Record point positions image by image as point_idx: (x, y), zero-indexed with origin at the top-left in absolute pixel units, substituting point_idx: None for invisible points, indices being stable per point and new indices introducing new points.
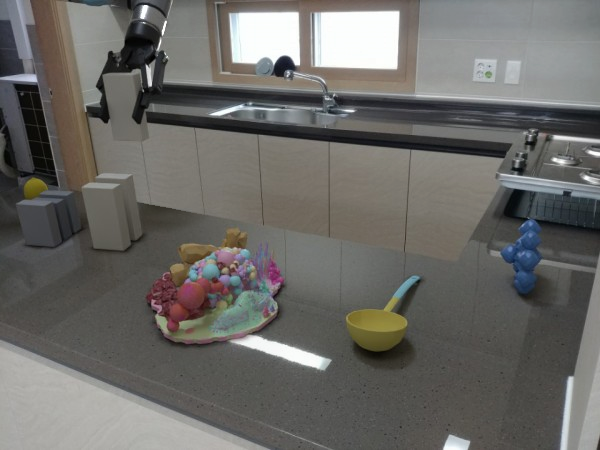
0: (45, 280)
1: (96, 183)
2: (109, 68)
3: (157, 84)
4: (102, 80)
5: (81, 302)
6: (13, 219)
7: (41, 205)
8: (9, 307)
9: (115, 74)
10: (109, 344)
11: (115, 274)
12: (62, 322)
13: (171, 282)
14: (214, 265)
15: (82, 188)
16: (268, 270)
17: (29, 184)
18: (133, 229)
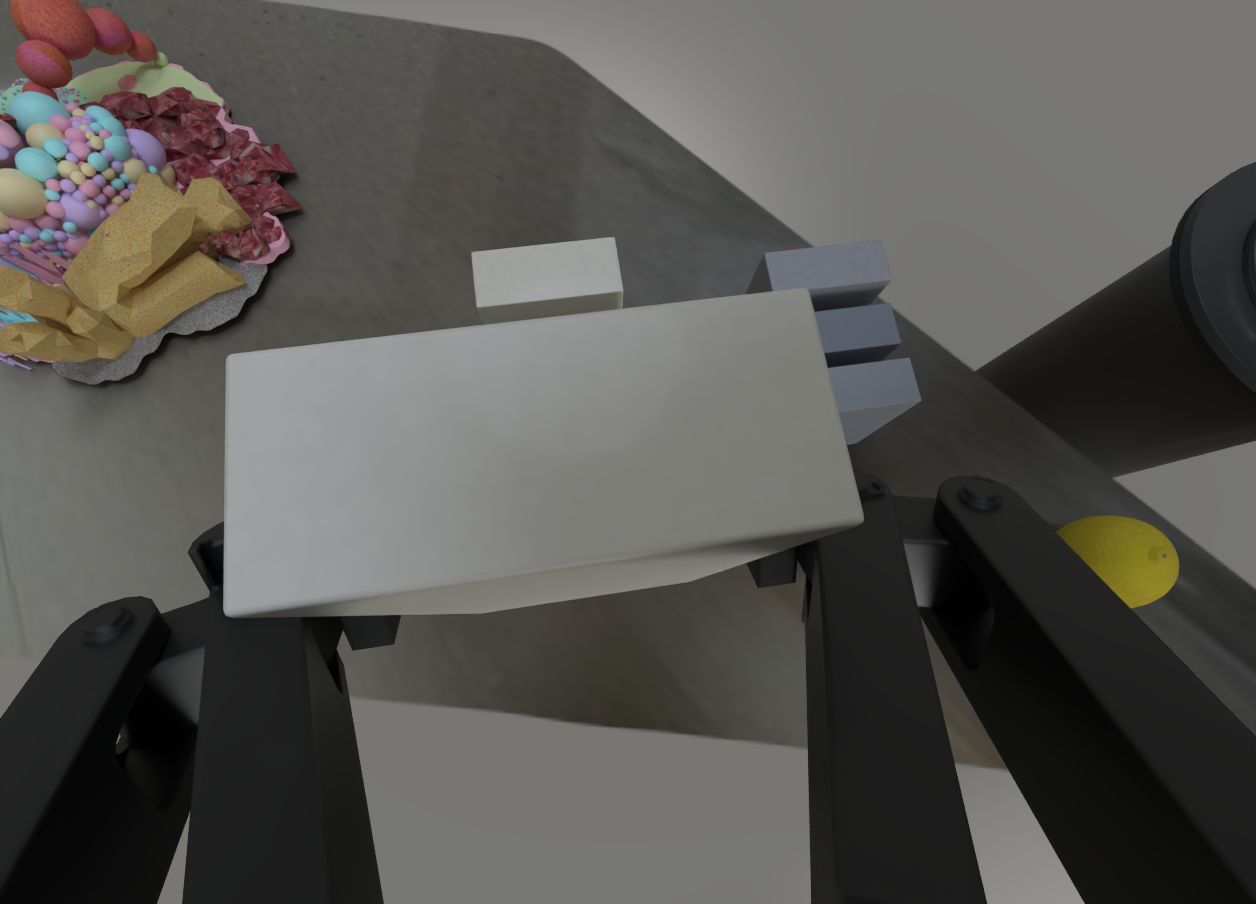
0: (602, 180)
1: (583, 286)
2: (1164, 818)
3: (47, 663)
4: (997, 557)
5: (444, 130)
6: (1045, 453)
7: (778, 251)
8: (586, 79)
9: (585, 338)
10: (289, 37)
11: (447, 247)
12: (431, 66)
13: (234, 196)
14: (11, 105)
15: (609, 239)
16: None
17: (1133, 526)
18: None
